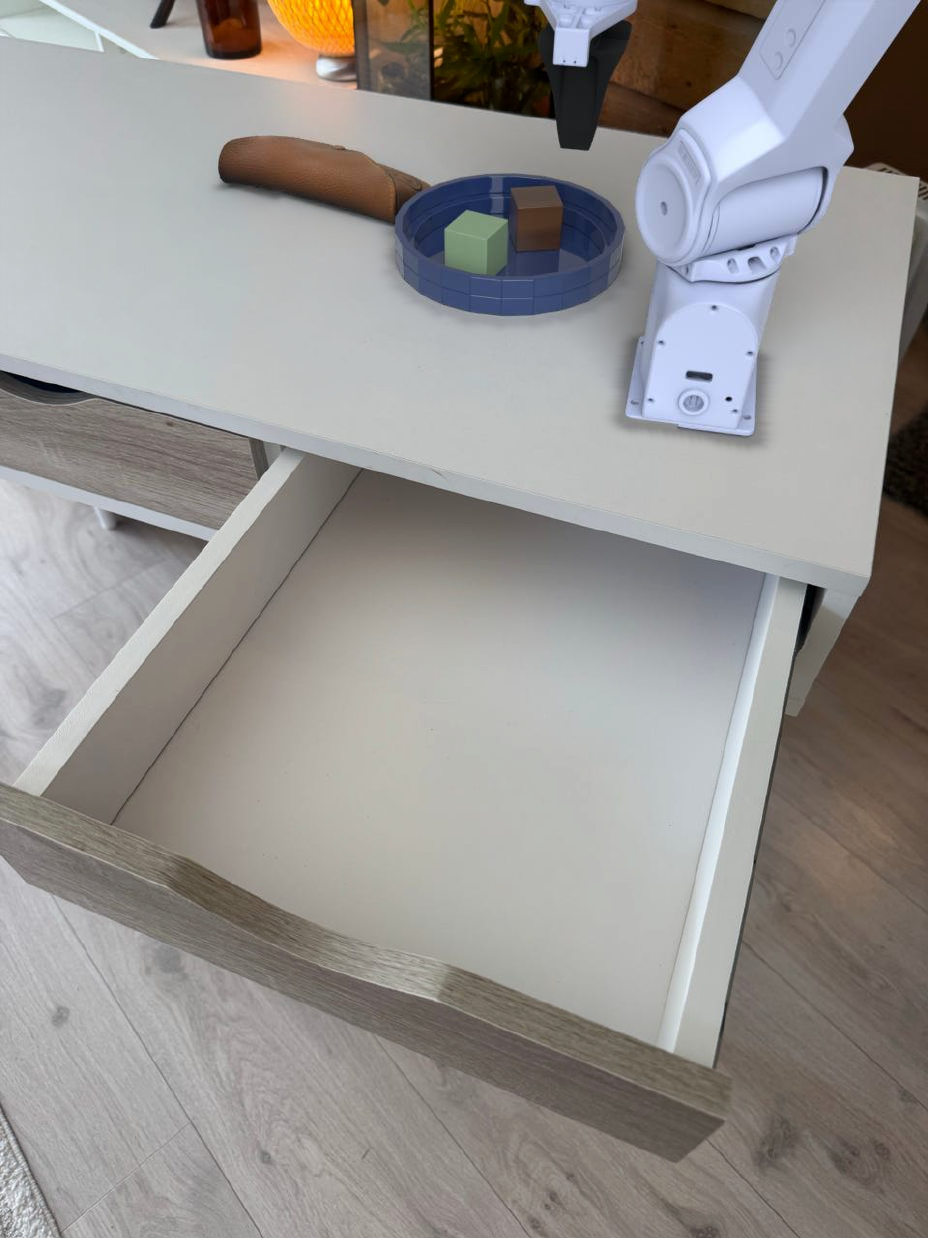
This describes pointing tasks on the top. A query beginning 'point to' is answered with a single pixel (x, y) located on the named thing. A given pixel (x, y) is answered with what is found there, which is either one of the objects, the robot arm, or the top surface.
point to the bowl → (510, 247)
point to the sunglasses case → (318, 174)
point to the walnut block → (535, 218)
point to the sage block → (476, 243)
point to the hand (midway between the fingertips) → (575, 145)
